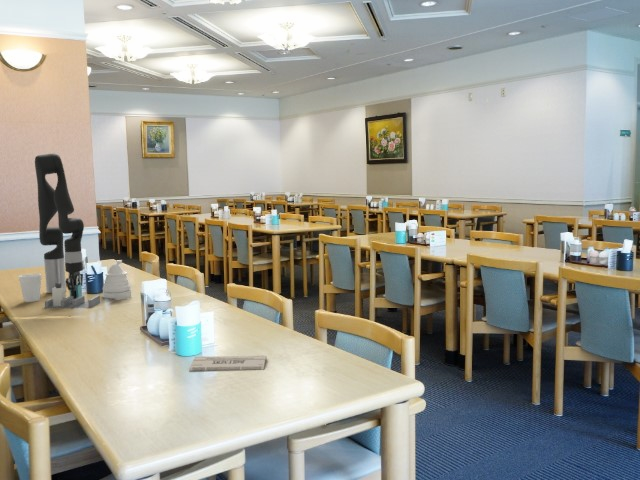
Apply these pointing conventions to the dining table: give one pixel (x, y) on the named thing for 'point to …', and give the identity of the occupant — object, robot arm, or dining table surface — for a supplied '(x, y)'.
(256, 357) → the newspaper
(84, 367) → the dining table surface
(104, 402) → the dining table surface
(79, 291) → the teal plug
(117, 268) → the honey pot
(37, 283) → the foam cup
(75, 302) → the comb board
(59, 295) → the white plug
